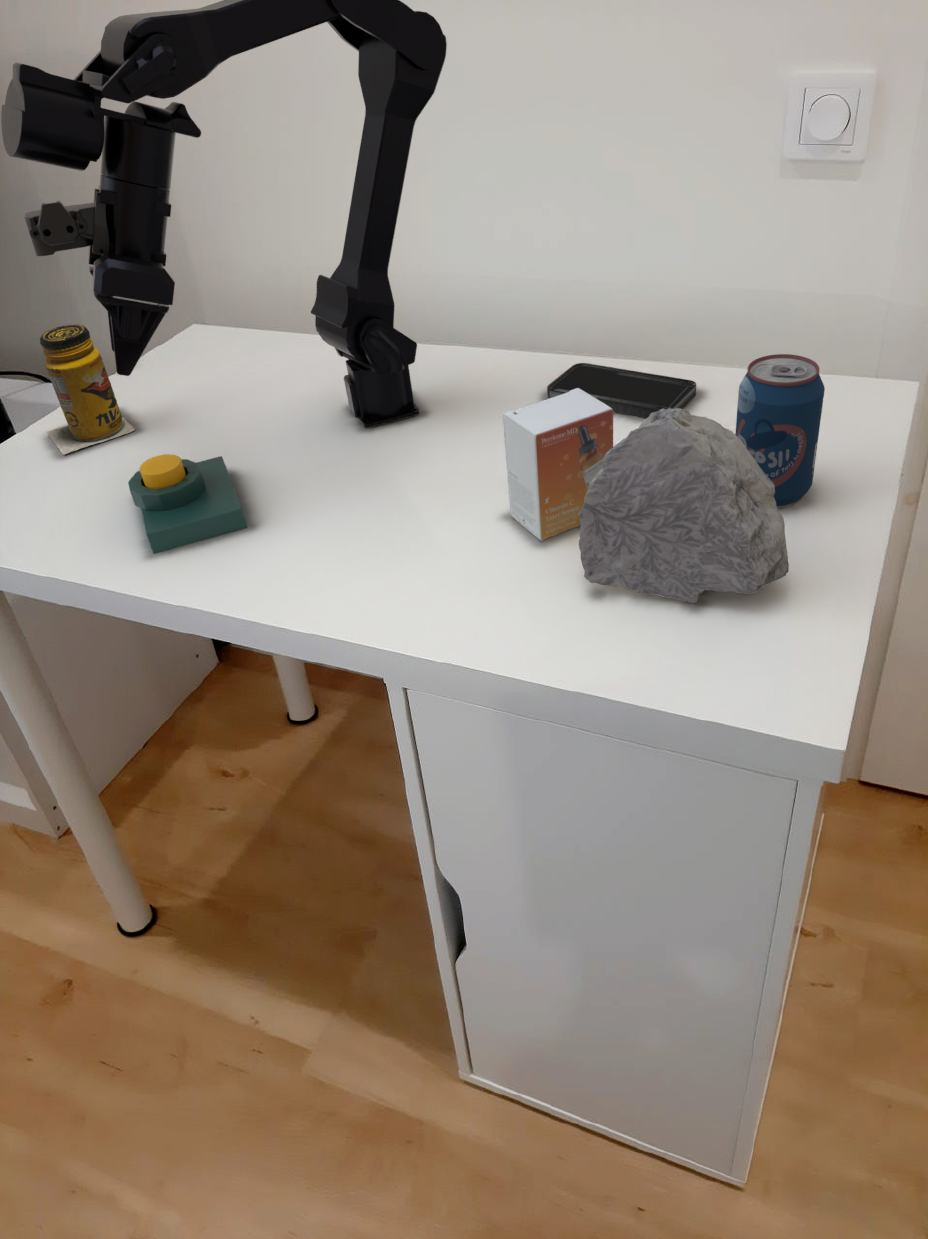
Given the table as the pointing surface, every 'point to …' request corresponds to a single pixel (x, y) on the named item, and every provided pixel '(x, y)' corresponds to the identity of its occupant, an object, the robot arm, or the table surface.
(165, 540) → the teal square base
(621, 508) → the decorative rock
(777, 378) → the soda can
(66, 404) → the condiment
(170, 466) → the cylinder
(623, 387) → the phone
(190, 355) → the table surface
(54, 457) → the table surface
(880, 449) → the table surface
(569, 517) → the small box
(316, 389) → the table surface
